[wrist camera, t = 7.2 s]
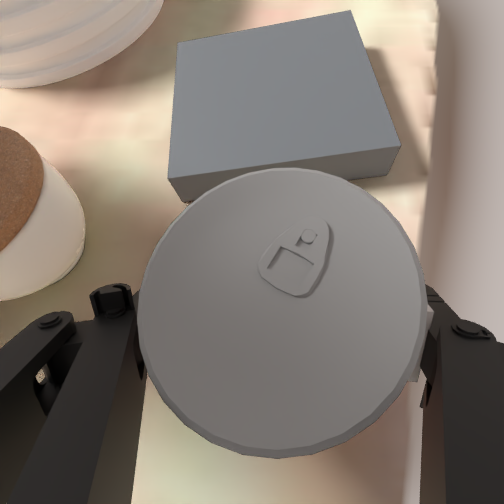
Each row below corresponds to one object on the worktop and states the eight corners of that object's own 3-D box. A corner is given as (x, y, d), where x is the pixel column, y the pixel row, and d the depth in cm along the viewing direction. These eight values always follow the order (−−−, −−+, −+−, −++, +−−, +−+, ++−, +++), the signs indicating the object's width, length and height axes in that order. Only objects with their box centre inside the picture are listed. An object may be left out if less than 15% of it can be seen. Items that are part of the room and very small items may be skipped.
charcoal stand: (182, 202, 22) (167, 178, 20) (188, 73, 29) (177, 42, 26) (387, 175, 21) (401, 145, 18) (344, 46, 28) (350, 10, 25)
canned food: (358, 290, 18) (442, 185, 8) (333, 428, 15) (415, 537, 5) (246, 262, 20) (198, 148, 10) (205, 381, 17) (81, 392, 7)
